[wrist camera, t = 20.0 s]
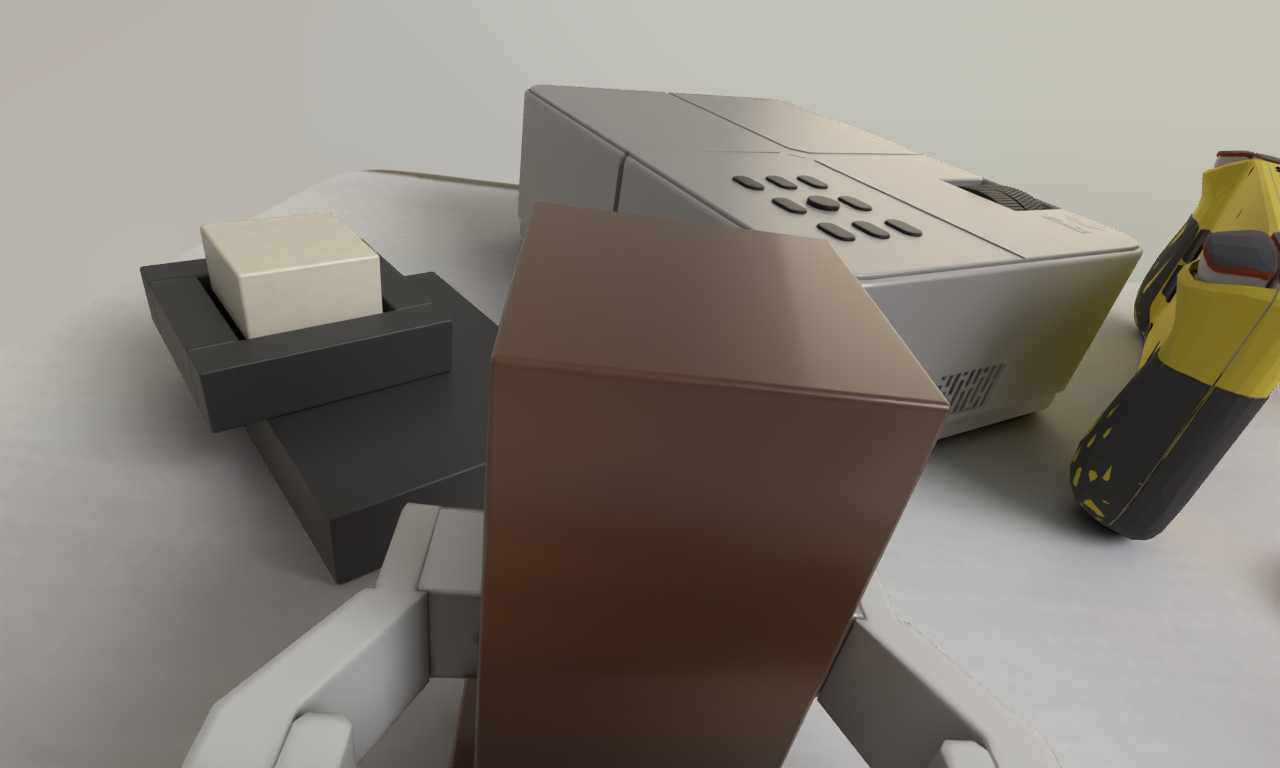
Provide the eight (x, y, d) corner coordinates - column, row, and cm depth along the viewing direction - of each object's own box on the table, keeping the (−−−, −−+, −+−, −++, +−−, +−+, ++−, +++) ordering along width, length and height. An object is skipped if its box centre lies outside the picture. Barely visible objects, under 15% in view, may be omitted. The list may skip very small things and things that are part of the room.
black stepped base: (281, 610, 16) (256, 477, 14) (166, 377, 22) (136, 262, 20) (600, 475, 21) (617, 365, 19) (433, 320, 28) (432, 226, 26)
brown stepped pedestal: (429, 967, 11) (409, 385, 5) (478, 680, 15) (497, 181, 9) (738, 967, 11) (1040, 447, 6) (702, 691, 16) (854, 229, 10)
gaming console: (1176, 596, 21) (1427, 295, 15) (1030, 522, 23) (1208, 233, 17) (1202, 341, 39) (1321, 163, 34) (1120, 312, 41) (1220, 139, 36)
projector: (755, 511, 21) (832, 277, 17) (506, 235, 36) (514, 77, 32) (1065, 416, 29) (1168, 242, 25) (754, 223, 44) (786, 95, 40)
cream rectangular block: (250, 347, 18) (237, 275, 17) (211, 290, 20) (198, 223, 19) (384, 320, 20) (380, 254, 19) (336, 271, 22) (331, 210, 21)
